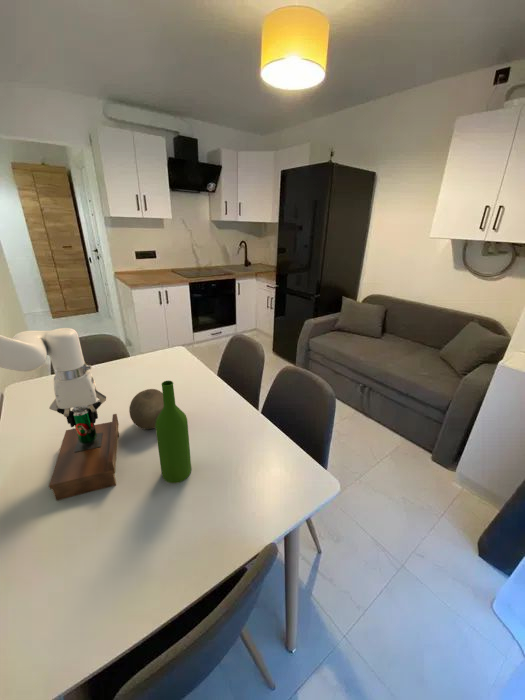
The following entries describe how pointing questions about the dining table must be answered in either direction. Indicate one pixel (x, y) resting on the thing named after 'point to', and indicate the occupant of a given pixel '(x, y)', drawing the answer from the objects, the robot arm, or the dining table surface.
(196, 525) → the dining table surface
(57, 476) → the brown wooden box
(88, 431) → the soda can
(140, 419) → the cantaloupe
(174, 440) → the wine bottle
